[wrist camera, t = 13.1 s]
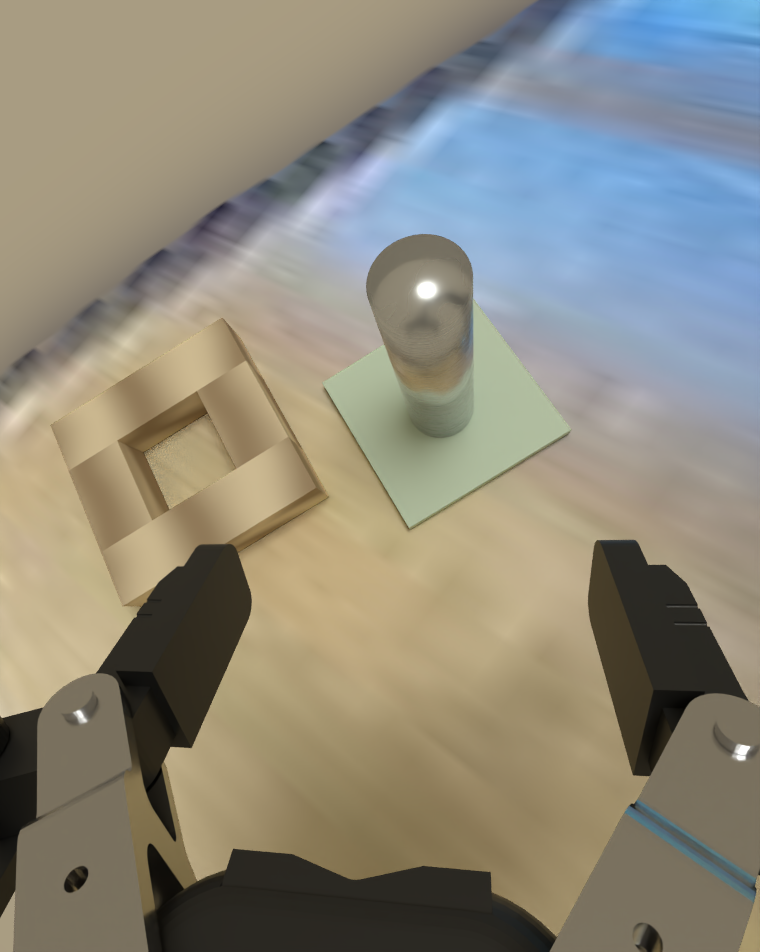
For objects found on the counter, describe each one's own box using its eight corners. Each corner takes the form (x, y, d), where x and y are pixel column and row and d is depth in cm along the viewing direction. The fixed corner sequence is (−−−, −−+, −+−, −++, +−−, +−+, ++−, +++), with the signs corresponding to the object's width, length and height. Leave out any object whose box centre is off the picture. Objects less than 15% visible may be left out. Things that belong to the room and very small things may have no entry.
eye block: (240, 337, 33) (222, 317, 31) (328, 496, 30) (316, 487, 27) (80, 437, 33) (50, 424, 31) (150, 605, 30) (122, 606, 28)
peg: (451, 365, 30) (436, 215, 18) (486, 415, 29) (494, 290, 17) (397, 398, 30) (347, 271, 18) (430, 449, 29) (400, 349, 17)
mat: (468, 298, 31) (468, 292, 31) (569, 433, 28) (571, 429, 28) (324, 386, 31) (322, 382, 31) (410, 529, 29) (409, 527, 28)
